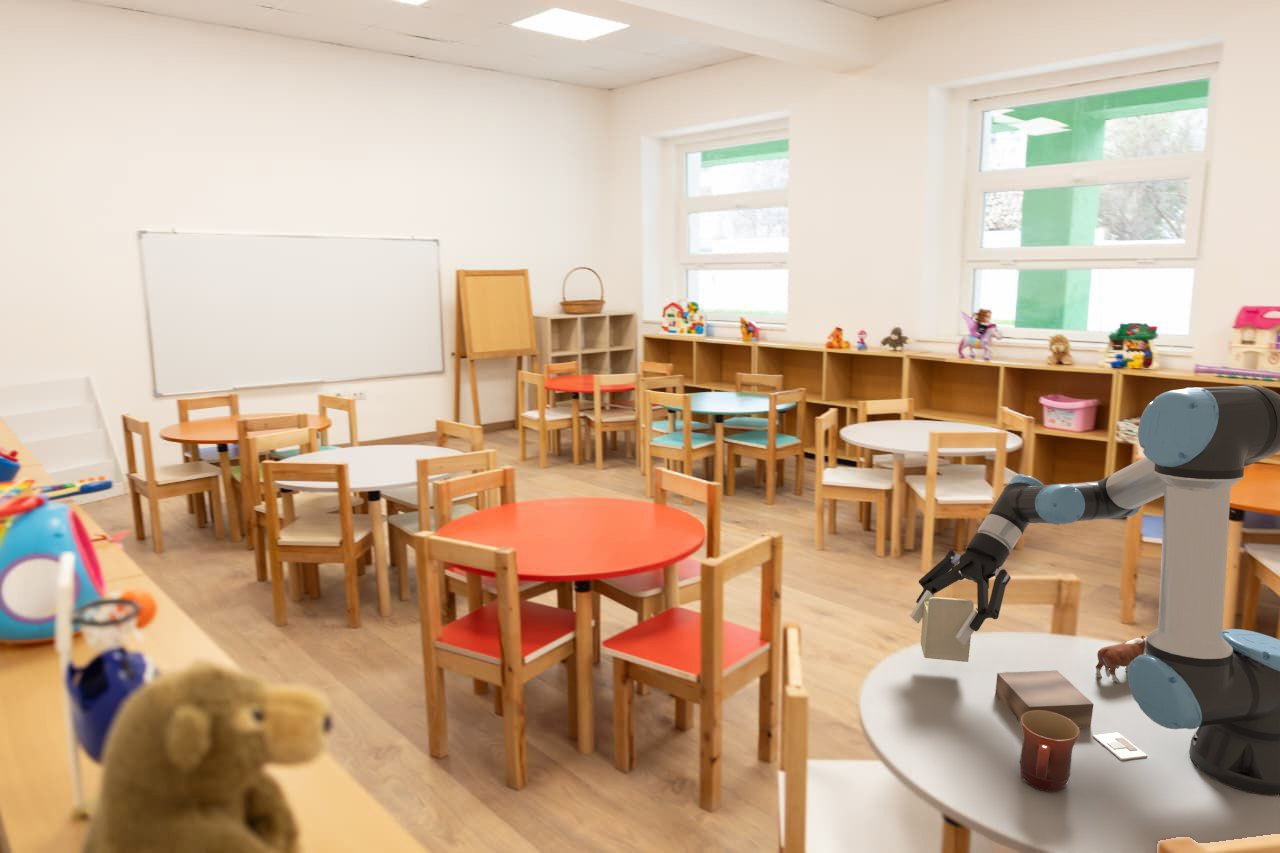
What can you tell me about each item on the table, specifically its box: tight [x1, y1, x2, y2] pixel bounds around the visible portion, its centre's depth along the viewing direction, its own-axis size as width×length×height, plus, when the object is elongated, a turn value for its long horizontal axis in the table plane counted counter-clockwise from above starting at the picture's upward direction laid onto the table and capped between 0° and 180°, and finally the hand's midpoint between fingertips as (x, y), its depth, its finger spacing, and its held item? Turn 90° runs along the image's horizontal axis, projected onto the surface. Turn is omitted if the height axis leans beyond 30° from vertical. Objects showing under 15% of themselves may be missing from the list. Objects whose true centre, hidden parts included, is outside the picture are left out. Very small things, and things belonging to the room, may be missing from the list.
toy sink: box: [920, 596, 975, 663], centre depth 171 cm, size 8×7×13 cm
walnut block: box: [994, 670, 1094, 728], centre depth 159 cm, size 12×12×5 cm
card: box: [1092, 731, 1148, 761], centre depth 148 cm, size 7×5×1 cm
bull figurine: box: [1095, 635, 1147, 683], centre depth 171 cm, size 4×13×8 cm, turn 103°
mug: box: [1019, 710, 1081, 793], centre depth 137 cm, size 12×9×10 cm
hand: (936, 630), depth 170 cm, fingers closed on toy sink, 11 cm apart
